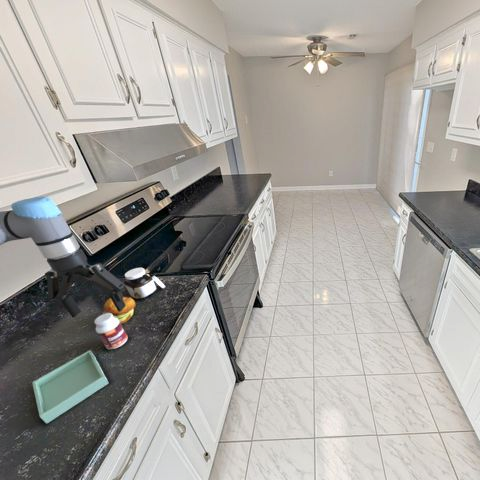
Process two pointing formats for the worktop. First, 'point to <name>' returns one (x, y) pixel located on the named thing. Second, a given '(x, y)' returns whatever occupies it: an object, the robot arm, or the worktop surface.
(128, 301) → the cheeseburger
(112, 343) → the pill bottle
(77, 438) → the worktop surface
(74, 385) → the tray
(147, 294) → the spread jar
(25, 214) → the robot arm
